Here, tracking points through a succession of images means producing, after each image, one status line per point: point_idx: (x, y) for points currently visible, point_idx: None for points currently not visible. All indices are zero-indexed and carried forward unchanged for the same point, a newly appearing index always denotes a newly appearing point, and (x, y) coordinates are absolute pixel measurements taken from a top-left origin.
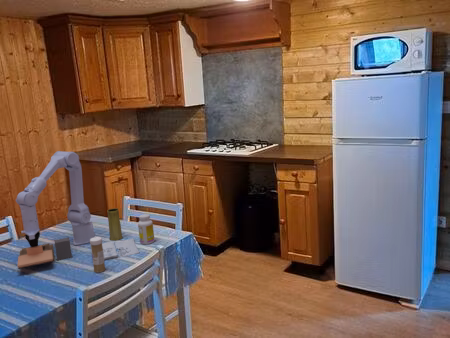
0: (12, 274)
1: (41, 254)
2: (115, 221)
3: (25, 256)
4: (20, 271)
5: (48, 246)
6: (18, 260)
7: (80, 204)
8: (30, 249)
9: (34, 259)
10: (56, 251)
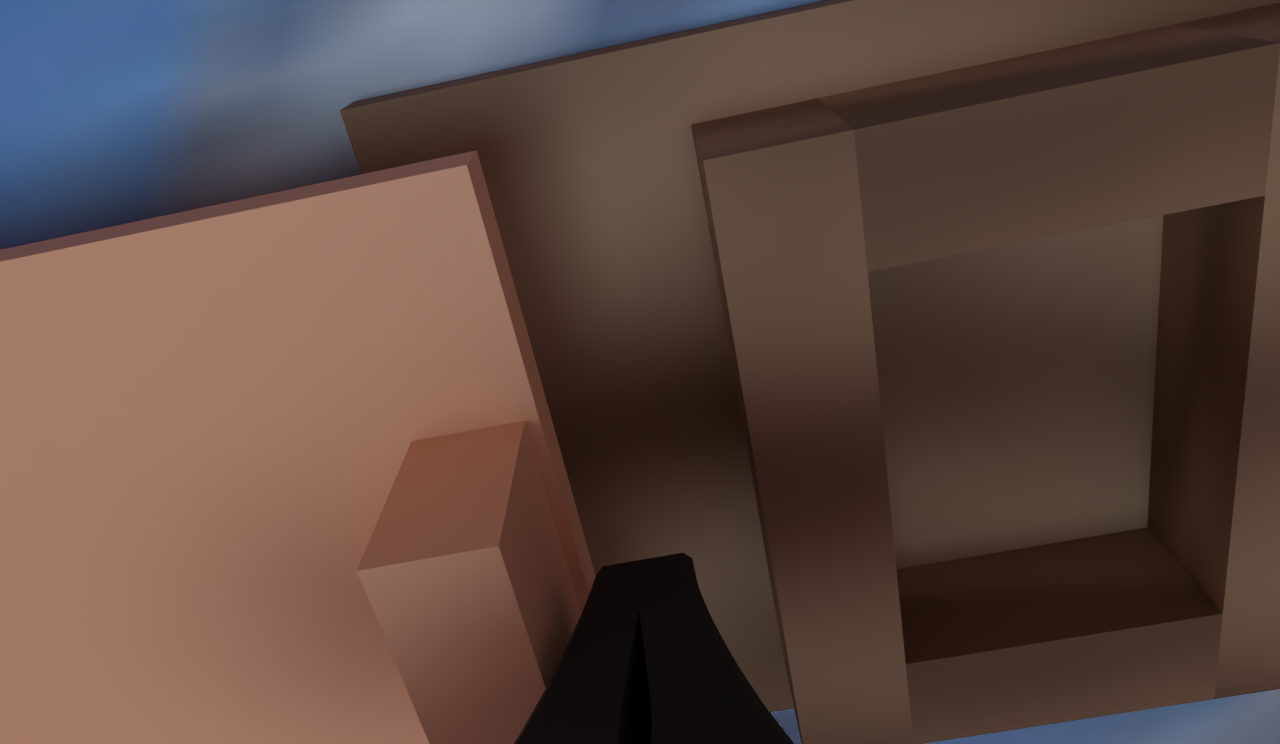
0: (18, 30)
1: (409, 737)
2: None
3: (368, 397)
4: (178, 189)
5: (1101, 696)
6: (68, 263)
7: None
8: (408, 648)
9: (95, 656)
10: None
